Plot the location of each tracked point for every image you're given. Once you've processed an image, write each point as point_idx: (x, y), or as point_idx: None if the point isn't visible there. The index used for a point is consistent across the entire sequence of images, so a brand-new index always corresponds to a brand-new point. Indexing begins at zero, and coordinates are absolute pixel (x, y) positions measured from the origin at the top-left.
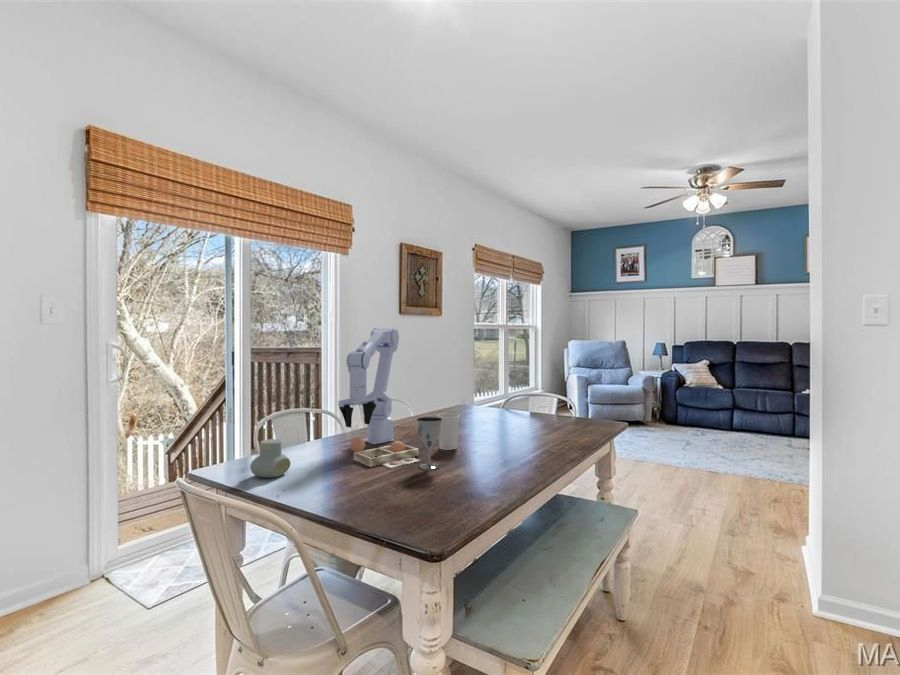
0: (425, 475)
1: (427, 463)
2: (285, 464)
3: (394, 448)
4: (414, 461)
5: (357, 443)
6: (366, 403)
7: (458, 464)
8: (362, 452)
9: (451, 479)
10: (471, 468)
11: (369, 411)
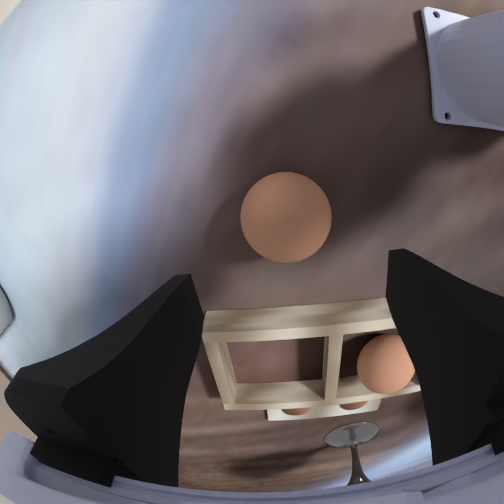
0: (302, 458)
1: (348, 444)
2: (1, 333)
3: (361, 381)
4: (356, 412)
5: (265, 257)
6: (489, 434)
7: (408, 437)
8: (240, 339)
9: (321, 473)
10: (398, 453)
11: (426, 402)
